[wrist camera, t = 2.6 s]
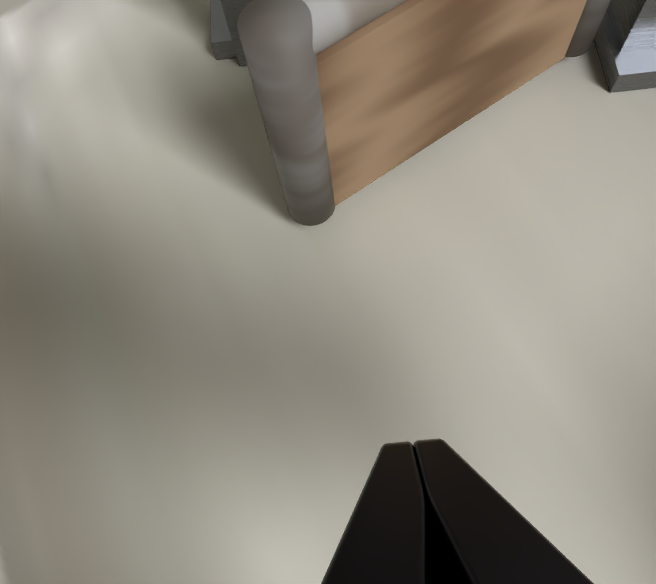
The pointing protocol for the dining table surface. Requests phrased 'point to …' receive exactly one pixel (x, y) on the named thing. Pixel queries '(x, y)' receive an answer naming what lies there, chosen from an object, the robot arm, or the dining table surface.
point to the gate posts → (611, 39)
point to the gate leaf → (389, 79)
